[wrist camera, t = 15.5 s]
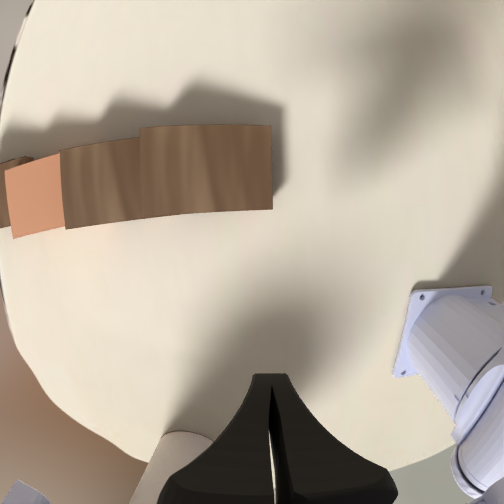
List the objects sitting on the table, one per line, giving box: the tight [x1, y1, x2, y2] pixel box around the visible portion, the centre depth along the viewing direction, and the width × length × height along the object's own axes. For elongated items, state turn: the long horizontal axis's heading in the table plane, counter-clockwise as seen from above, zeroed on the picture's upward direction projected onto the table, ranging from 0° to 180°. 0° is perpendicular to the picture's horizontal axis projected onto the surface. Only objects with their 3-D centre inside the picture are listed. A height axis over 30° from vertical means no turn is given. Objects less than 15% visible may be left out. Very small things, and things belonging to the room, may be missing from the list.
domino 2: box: [60, 137, 180, 229], centre depth 17 cm, size 2×5×8 cm
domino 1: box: [140, 125, 273, 217], centre depth 17 cm, size 2×5×8 cm
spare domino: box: [5, 153, 65, 239], centre depth 17 cm, size 2×5×8 cm
